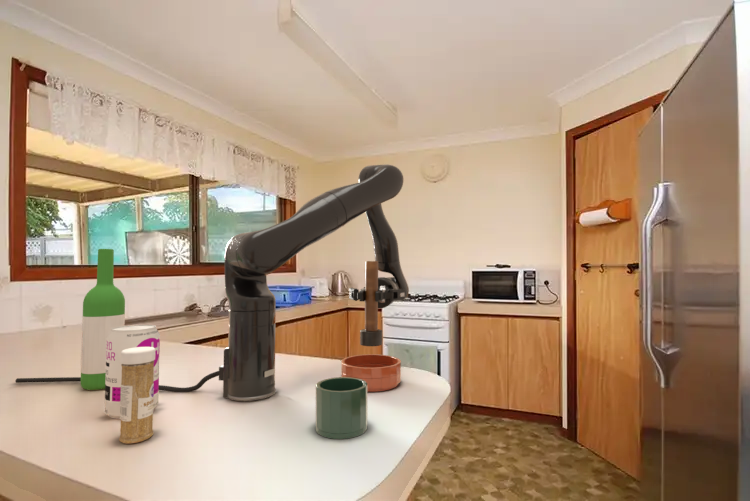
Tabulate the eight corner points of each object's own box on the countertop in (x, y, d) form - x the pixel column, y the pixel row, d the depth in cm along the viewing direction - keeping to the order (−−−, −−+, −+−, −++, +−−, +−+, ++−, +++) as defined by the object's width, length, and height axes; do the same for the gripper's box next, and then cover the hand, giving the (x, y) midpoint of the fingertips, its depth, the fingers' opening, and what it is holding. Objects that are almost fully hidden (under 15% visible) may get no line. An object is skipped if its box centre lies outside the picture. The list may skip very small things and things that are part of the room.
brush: (364, 347, 83) (364, 260, 84) (357, 343, 87) (358, 261, 88) (385, 345, 84) (386, 261, 85) (377, 341, 89) (378, 261, 90)
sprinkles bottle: (154, 439, 59) (156, 349, 60) (118, 447, 57) (121, 353, 57) (152, 429, 63) (154, 344, 64) (118, 436, 61) (120, 347, 61)
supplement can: (168, 406, 74) (170, 325, 74) (127, 422, 66) (130, 332, 67) (135, 401, 76) (137, 323, 77) (93, 416, 69) (95, 329, 69)
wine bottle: (71, 389, 84) (75, 248, 86) (108, 379, 92) (111, 250, 93) (95, 393, 81) (99, 247, 83) (131, 383, 89) (134, 249, 90)
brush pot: (309, 437, 60) (309, 390, 60) (323, 417, 68) (323, 376, 69) (362, 440, 59) (362, 393, 59) (370, 419, 67) (370, 378, 67)
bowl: (335, 391, 83) (335, 367, 83) (348, 374, 96) (348, 353, 96) (398, 394, 81) (398, 369, 81) (402, 376, 94) (402, 355, 94)
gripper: (354, 277, 102) (337, 278, 85) (409, 277, 99) (402, 279, 82) (354, 306, 101) (336, 313, 84) (409, 307, 99) (402, 315, 82)
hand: (369, 296), depth 83 cm, fingers closed on brush, 3 cm apart
